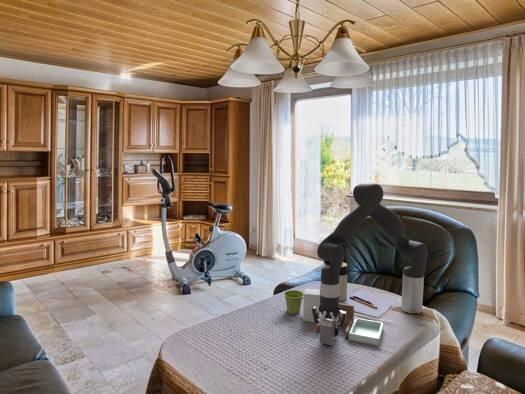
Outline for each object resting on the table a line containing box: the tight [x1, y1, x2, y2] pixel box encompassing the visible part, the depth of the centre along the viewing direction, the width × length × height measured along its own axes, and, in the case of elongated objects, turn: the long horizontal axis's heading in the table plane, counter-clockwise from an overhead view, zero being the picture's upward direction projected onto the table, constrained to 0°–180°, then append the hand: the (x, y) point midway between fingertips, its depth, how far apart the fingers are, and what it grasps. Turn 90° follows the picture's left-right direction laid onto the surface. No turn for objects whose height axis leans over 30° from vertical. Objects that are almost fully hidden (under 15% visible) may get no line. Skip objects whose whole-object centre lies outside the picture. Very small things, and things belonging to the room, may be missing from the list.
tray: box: [348, 317, 384, 347], centre depth 158 cm, size 16×12×3 cm
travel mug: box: [339, 262, 349, 302], centre depth 196 cm, size 8×8×18 cm
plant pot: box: [283, 289, 304, 314], centre depth 180 cm, size 9×9×9 cm
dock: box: [315, 302, 355, 340], centre depth 163 cm, size 13×13×9 cm
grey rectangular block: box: [318, 318, 337, 346], centre depth 152 cm, size 10×5×8 cm, turn 157°
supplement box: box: [302, 288, 321, 323], centre depth 173 cm, size 7×7×13 cm
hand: (328, 334), depth 152 cm, fingers closed on grey rectangular block, 5 cm apart
